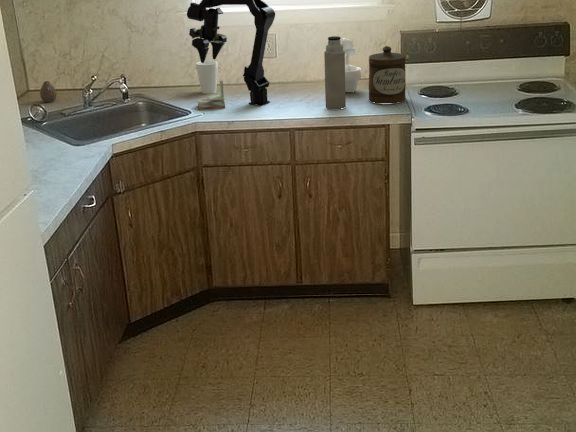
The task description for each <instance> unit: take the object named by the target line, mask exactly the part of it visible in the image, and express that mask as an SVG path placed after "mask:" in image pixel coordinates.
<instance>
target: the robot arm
mask: <svg viewBox="0 0 576 432" xmlns="http://www.w3.org/2000/svg"><path fill="white" fill-rule="evenodd" d="M223 5H224V6H226V5H227V6H235V5H236V6H238V5H239V6H240V5H242V6H243V5H244V6H247V8H248V11H249V12H250V14H251V15H252V16H253V17H254V18H253V19H254V23H253V24H254V25H255V37H254V41H253V45H252V46H253V47H252V53H251V57H250V64H249V65H245V66H244V67H243V70H244V71H243V74H242V77H243V81H244V83H245V84H246V87H247V89H248V91H250V92H249V97H250V98H249V99H250V102H248V104H249V105H253V106H260V107H261V106H264V105H266V104H269V103H271V100H268V87H269V86H270V83H271V82H270V81H269V80H268V79H267V78H266V76H265V70H264V65H263V62H264V56H265V52H266V44H267V38H268V34H269V30H270V29H271V28H272V25H273V23H274V21H275V18H276V11H274V9H273V8H272V7H271V6H269V5H268V3H266V2H264V1H263V0H201V1H200V3H196V2H190V3H189V7H188V8H187V10H186V15H187V16H186V17H187V19H189V20H192V21H198V22H203V24H202V25H200V28H198V29H196V28H195V27H192V28H190V29H189V32H188V33H189V34H188V35H189V36H190V37H191V39H192V40H191V46H192V47H193V48H195V49H196V50H197V52H198V54H199V55H198V56H199V59H200V61H201V63H204V61H206V59H207V58H206V57H207V54H208V52H209V49H210V47H209V46H210V44H211V47H212V48H211V49H212V50H211V51H212V56H211V57H212V60H216V59H217V57H218V55H219V53H220V52H221V50H222V48H223V47H224V46H225V44H226V43H227V42H228V41H227V39H228V37H227V36H226V34H220V33H218V30H220V26H219V24H218V23H219V15H223V14H224V11H223V10H222V9H221V8H220V6H223ZM215 7H216V8H215Z"/></svg>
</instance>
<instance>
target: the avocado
mask: <svg viewBox="0 0 576 432" xmlns="http://www.w3.org/2000/svg"><path fill="white" fill-rule="evenodd" d="M57 94H58V93H57V90H56V88H55V87H54V85H53V84H51V83H50V81H49V80H47V81H43V83H42V85H41V87H40V89H39V95H40V99H41V100H42V101H43V102H44V103H45V104H46V103H48V104H49V103H54V102H55V101H56V100H57V97H58V96H57Z"/></svg>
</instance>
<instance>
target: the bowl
mask: <svg viewBox="0 0 576 432" xmlns="http://www.w3.org/2000/svg"><path fill="white" fill-rule="evenodd" d="M198 99H199V100H198ZM198 99H197V104H198V103H204V102H212V101H210V97H206V98H205V97H202V99H201V98H198Z"/></svg>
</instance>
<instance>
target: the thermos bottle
mask: <svg viewBox="0 0 576 432" xmlns="http://www.w3.org/2000/svg"><path fill="white" fill-rule="evenodd" d="M338 36H339V35H337V36H335V35H334V36H328V37H327V40H328V41H327V45H326V46H325V51H324V52H323V53H324V55H323V56H324V87H325V88H324V90H325V91H324V92H325V93H324V94H325V96H324V97H325V99H324V100H325V109H326V108H327V110H329V109H340V110H342V109H341V108H344V107H345V108H346V107H347V106H346V102H347V101H346V93H345V65H346V54H345V51H344V50H343V45H342V42H341V36H339V37H338ZM345 108H344V109H345Z"/></svg>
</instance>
